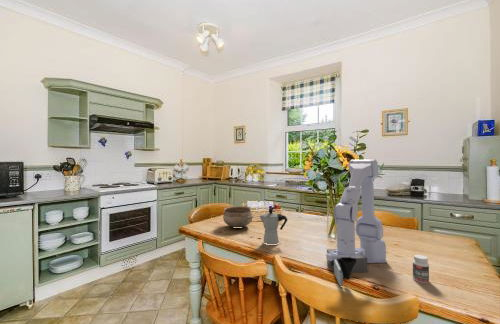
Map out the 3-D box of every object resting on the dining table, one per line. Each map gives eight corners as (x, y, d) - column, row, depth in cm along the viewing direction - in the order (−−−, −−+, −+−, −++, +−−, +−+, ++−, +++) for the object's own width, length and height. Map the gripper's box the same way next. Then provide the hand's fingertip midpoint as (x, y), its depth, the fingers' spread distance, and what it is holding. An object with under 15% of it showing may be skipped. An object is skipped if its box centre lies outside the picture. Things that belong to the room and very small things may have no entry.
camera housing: (354, 260, 103) (354, 246, 103) (367, 271, 93) (367, 256, 93) (324, 261, 103) (324, 247, 103) (334, 272, 93) (334, 257, 93)
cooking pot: (213, 227, 158) (213, 208, 158) (233, 221, 173) (233, 204, 173) (242, 234, 142) (242, 213, 142) (262, 227, 157) (262, 208, 157)
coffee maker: (258, 245, 123) (257, 210, 123) (259, 240, 132) (259, 206, 132) (288, 246, 121) (287, 210, 121) (287, 240, 130) (287, 207, 130)
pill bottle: (414, 282, 85) (414, 258, 85) (411, 276, 89) (411, 253, 89) (431, 284, 83) (430, 260, 83) (426, 278, 88) (426, 255, 88)
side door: (342, 287, 81) (342, 272, 81) (340, 287, 81) (340, 272, 81) (336, 272, 93) (335, 258, 93) (333, 271, 93) (333, 258, 93)
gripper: (335, 245, 77) (336, 287, 77) (371, 239, 82) (372, 280, 82) (322, 238, 84) (322, 277, 84) (356, 233, 89) (357, 271, 89)
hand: (346, 278), depth 83 cm, fingers closed
